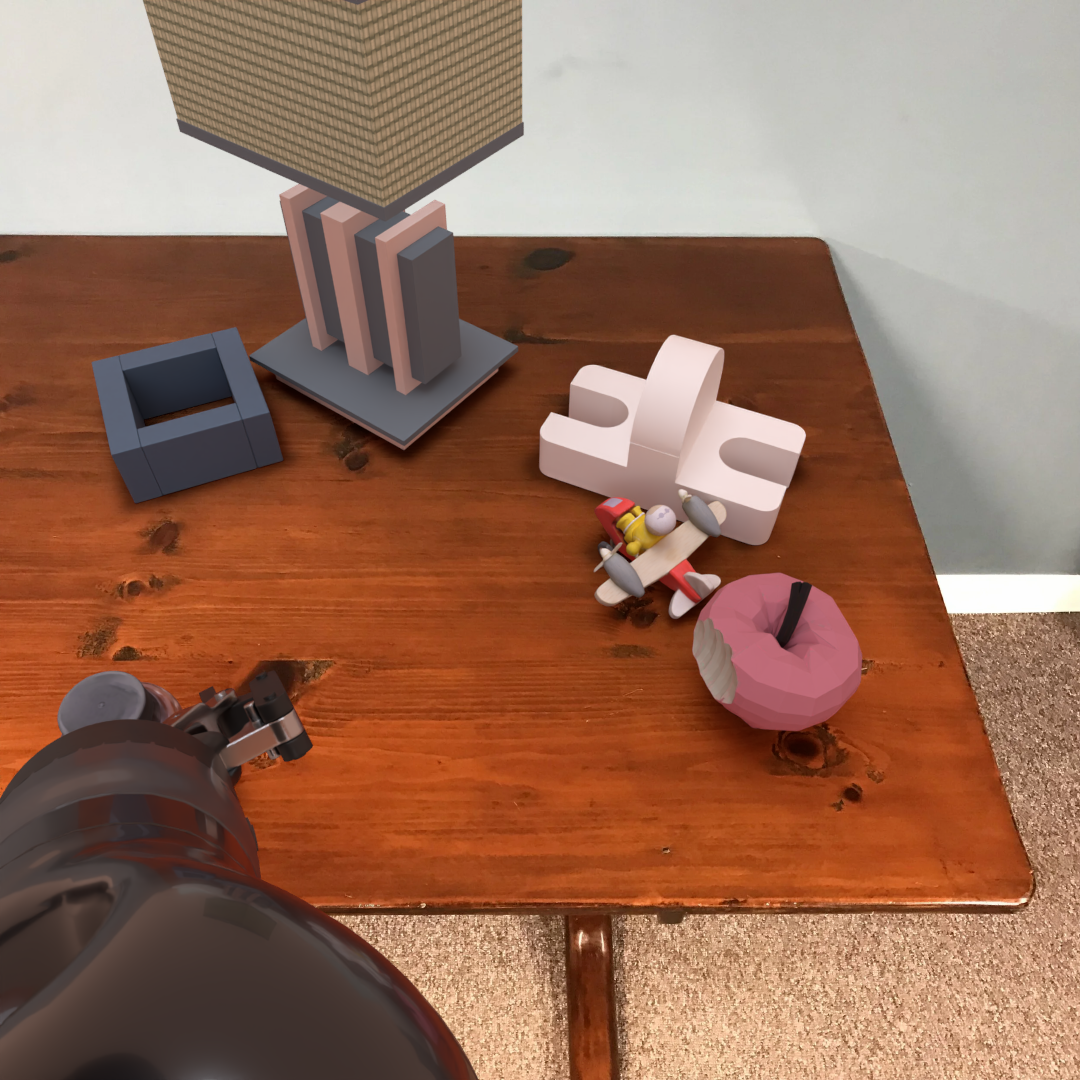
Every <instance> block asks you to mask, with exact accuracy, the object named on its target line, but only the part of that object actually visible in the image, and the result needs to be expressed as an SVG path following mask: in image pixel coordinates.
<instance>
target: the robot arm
mask: <svg viewBox="0 0 1080 1080" xmlns="http://www.w3.org/2000/svg"><path fill="white" fill-rule="evenodd" d="M248 686H249V689H250V692H248V693H245V694H241V695H238V693H237V692H236V689H235V688H233V687H230V688H229V687H228V688H225V689H222V690H219V691H218V692H217V691H216V689H215V688H214V686H213V685H211V686H209V687H207V688H206V689H204V690H201V691H199V692H198V695H199V697H200V700H201V702H198V703H196V704H193V705H191V706H187V707H185V708H183V709H182V710H179V711H177V712H175V713H173V714H172V715H171V716H170V717H168V718H167V719H166V720H164V721H163V722H162V723H159V722H154V721H148V720H139V719H121V720H111V721H105V722H100V723H95V724H92V725H88V726H85V727H82V728H80V729H77V730H74V731H72V732H70V733H68V734H66V735H64V736H62V737H61V736H60V737H58V738H56V739H54V740H53V741H52V742H50V743H49V744H47V745H45V746H44V747H43V748H41V749H40V750H39V751H37V752H36V753H35V754H34V755H33V756H31V757H30V759H28V760H27V761H26V762H25V763H24V764H23V765H22V766H21V767H20V769H19V770H18V771H17V772H16V773H15V774H14V776H13V777H12V778H11V780H10V781H9V782H8V784H7V785H6V787H5V789H4V790H3V792H2V794H1V796H0V1080H480V1079H479V1077H478V1074H477V1073H476V1071H475V1069H474V1067H473V1065H472V1063H471V1060H470V1059H469V1057H468V1055H467V1054H466V1051H465V1050H464V1048H463V1046H462V1044H461V1042H460V1041H459V1040H458V1039H457V1037H456V1036H455V1034H454V1033H453V1031H452V1030H451V1029H450V1027H449V1026H448V1024H447V1023H446V1021H445V1020H444V1019H443V1017H442V1016H441V1014H440V1013H439V1012H438V1011H437V1009H436V1008H435V1007H434V1006H433V1004H431V1003H430V1001H429V1000H428V999H427V998H426V997H425V996H424V994H422V993H421V991H420V990H419V988H417V987H416V985H415V984H414V983H413V982H412V981H411V980H410V979H409V978H408V977H407V976H406V975H405V974H404V973H403V972H402V971H401V970H400V969H399V968H398V967H397V966H396V965H394V963H392V962H391V961H390V959H388V958H387V957H386V956H385V955H384V954H382V952H380V951H379V950H378V949H376V947H374V946H373V945H372V944H371V943H369V941H367V940H365V938H363V937H362V936H361V935H359V934H358V933H357V932H355V931H354V930H352V929H351V928H350V927H348V926H347V925H345V924H344V923H342V922H340V921H339V920H337V919H335V917H332V916H330V915H329V914H327V913H326V912H324V911H322V910H321V909H319V908H318V907H316V906H315V905H312V904H311V903H309V902H308V901H306V900H304V899H302V898H300V897H298V896H297V895H295V894H293V893H292V892H289V891H288V890H285V889H283V888H281V887H279V886H277V885H275V884H272V883H270V882H268V881H266V880H264V879H262V873H261V864H260V858H259V854H258V852H259V851H260V850H259V843H258V839H257V834H256V831H255V827H254V824H252V823H251V821H250V819H249V817H248V816H246V815H245V813H244V810H243V806H242V805H241V802H240V800H239V797H238V795H237V792H236V790H235V786H236V785H237V784H238V783H239V781H240V779H241V776H242V772H243V768H242V767H243V766H242V765H244V764H246V763H247V762H249V761H252V760H254V759H255V758H257V757H259V756H261V755H263V754H264V753H266V754H267V756H268V758H269V760H271V761H274V760H276V759H278V758H280V757H281V758H282V760H283V762H286V763H288V762H291V761H297V760H300V759H302V758H303V757H305V756H306V755H307V753H309V751H311V750H312V749H313V747H314V744H313V742H312V740H311V738H310V736H309V734H308V731H307V730H306V729H305V726H304V724H303V721H301V718H300V716H299V714H298V712H297V709H295V706H294V704H293V703H292V701H291V698H290V697H289V695H288V693H287V691H286V689H285V686H284V685H283V683H282V681H281V679H280V677H279V674H278V673H277V671H276V670H271V671H262V672H260V673H258V674H257V675H255V676H254V678H253V679H252V680H250V681H249V683H248Z"/></svg>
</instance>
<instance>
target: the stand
mask: <svg viewBox="0 0 1080 1080" xmlns="http://www.w3.org/2000/svg"><path fill="white" fill-rule="evenodd" d="M91 366H92V371H93V376H94V377H93V378H94V381H95V385H96V391H97V394H98V399H99V405H100V409H101V414H102V418H103V422H104V429H105V433H106V437H107V443H108V446H109V451H110V457H112V460H113V462H114V463H115V466H116V468H117V470H118V472H119V474H120V476H121V478H122V480H123V482H124V484H125V486H126V488H127V490H128V492H129V494H130V496H131V499H132V500H133V502H134V504H139V503H142V502H145V501H149V500H153V499H156V498H159V497H160V498H161V497H163V496H166V495H169V494H173V493H176V492H179V491H184V490H187V489H190V488H193V487H197V486H201V485H204V484H207V483H210V482H214V481H217V480H221V479H224V478H227V477H231V476H235V475H239V474H242V473H245V472H249V471H252V470H256V469H258V468H263V467H266V466H269V465H273V464H276V463H280V462H283V461H284V456H283V452H282V449H281V446H280V443H279V439H278V436H277V432H276V429H275V426H274V422H273V418H272V416H271V412H270V408H269V406H268V403H267V402H266V399H265V396H264V393H263V390H262V388H261V386H260V384H259V380H258V377H257V376H256V372H255V371H254V368H253V365H252V363H251V361H250V358H249V355H248V353H247V349H246V347H245V344H244V343H243V339H242V336H241V335H240V332H239V330H238V328H237V326H234V327H230V328H225V329H221V330H218V331H214V332H209V333H204V334H201V335H196V336H192V337H188V338H183V339H180V340H176V341H172V342H168V343H163V344H160V345H159V344H158V345H155V346H151V347H148V348H142V349H139V350H135V351H131V352H126V353H123V354H119V355H114V356H110V357H106V358H102V359H98V360H94V361H91ZM231 397H232V400H233V403H230V404H226V405H222V406H219V407H215V408H211V409H207V410H203V411H199V412H196V413H192V414H189V415H185V416H182V417H177V418H173V419H170V420H165V421H162V422H159V423H158V422H157V423H155V424H151V425H148V426H146V424H145V420H148V419H151V418H156V417H159V416H163V415H168V414H171V413H174V412H178V411H182V410H186V409H189V408H190V409H191V408H193V407H197V406H201V405H205V404H208V403H212V402H217V401H220V400H223V399H227V398H231Z"/></svg>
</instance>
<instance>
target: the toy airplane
mask: <svg viewBox="0 0 1080 1080" xmlns="http://www.w3.org/2000/svg"><path fill="white" fill-rule="evenodd" d="M678 495H679V497H680V498H681V499H682V501H681V502H682V508H683V510H684V512H685V514H686V515H687V516H688V518H689V519H688V520H687V521H686V522H682V523H681V524H680V525H679V526H678V527H676V525H677V520H676V516H675V514H674V512H673V511H672V510H671V509H670V508H669V507H667V506H665V505H656V506H653V507H651V508H650V509H649V510H646V513H645V512H644V511H642V508H641V507H640V506H635V503H634V502H633V501H631V500H629V499H626V498H621V497H612V498H611V497H608V498H607V499H606V500H604V501H602V502H601V503H600V504H599V505H598V506H596V507H595V508H594V510H593V513H594V515H595V516H596V518H597V520H598V521H599V522H600V524H601V526H602V527H603V528H604V530H605V532H606V533H607V535H608V536H609V538H610V540H609V543H608V542H607V541H601V542H600V543H598V544H597V551H598V554H599V556H600V557H601V558H602V560H601V561H600V562H599V563H598V565H596V567H595V568H594V569H593V573H596V572H597V571H598V570H599V569H601V568H604V570H605V572H606V573H607V575H608V576H609V578H608V579H607V580H605V582H603V583H602V584H601V585H599V587H598V588H597V589H596V590H595V592H594V598H595V600H596V601H597V602H598V603H599V604H601V605H603V606H605V607H614V606H616V605H618V604H620V603H622V602H623V601H625V600H627V599H629V598H630V597H632V596H633V597H635V598H642V597H644V595H645V593H646V592H645V589H646V588H648V587H649V586H651V585H652V584H654V583H656V582H658V581H659V582H660V583H662V584H663V585H664V586H666V587H667V588H669V589H670V590H672V591H674V593H673V595H672V597H671V599H670V602H669V604H668V605H669V606H668V615H669V616H670V618H671V619H673V620H677V619H679V618H681V617H682V616H684V615H685V614H686V613H687V612H688V611H690V610H692V608H694V607H695V606H696V605H698V604H699V603H700V602H702V601H703V600H704V599H706V598H707V597H708V596H709V595H710V594H712V593H713V592H714V590H715V589H717V588H718V587H719V586H720V585H721V583H722V581H721V577H720V576H718V575H717V574H713V573H712V574H711V573H707V574H706V573H705V574H701V573H699V572H696V570H695V569H694V568H693V566H692V565H691V563H690V561H688V558H689V557H690V556H691V555H692V554H694V553H695V551H696V550H697V549H698V548H699V547H700V546H702V544H703V543H704V542H705V541H706V540H707V539H708V538H709V537H710V536H711V537H713V538H718V537H719V536H720V534H721V529H720V525H721V524H722V523H723V522H724V521H725V519H726V515H727V513H726V509H725V507H724V506H723V505H722V504H721V503H720V502H719V501H715V502H712V503H710V504H709V505H707V504H706V503H705V502H704V501H703V500H701V499H700V498H699V497H698V496H696V495H694V496H692V495H688V494H687V491H685V490H683V489H680V490H679V491H678ZM675 527H676V528H675ZM617 552H619V553H621V554H622V555H624V557H623V556H622V555H620V554H619V553H617ZM625 557H626V558H627V559H629V560H630V561H631V562H629V561H627V559H626V558H625Z"/></svg>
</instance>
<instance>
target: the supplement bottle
mask: <svg viewBox="0 0 1080 1080" xmlns="http://www.w3.org/2000/svg"><path fill="white" fill-rule="evenodd" d="M182 709H184V708H183V706H182V705H181V703H180V701H179V700H178V699H177V698H176V697H175V696H174V695H173V693H171V692H170V691H168V690H167V689H165V688H164V687H163V686H160V685H157V684H156V683H153V682H146V681H141V680H140V679H138V678H137V677H136V676H135V675H134V674H132V673H129V672H125V671H121V670H106V671H105V670H104V671H102V672H98V673H94V674H91V675H89V676H87V677H85V678H84V679H82V680H80V681H79V682H78V683H76V684H75V685H74V686H73V687H72V688H70V690H69V691H68V692H67V693H66V694H65V695H64V696H63V698H62V701H61V702H60V704H59V708H58V711H57V717H56V719H57V726H58V729H59V732H60V733H61V735H60V737H62V736H64V735H66V734H68V733H70V732H72V731H74V730H77V729H80V728H82V727H85V726H88V725H92V724H95V723H100V722H105V721H111V720H121V719H139V720H148V721H154V722H159V723H162V722H163V721H164V720H166V719H167V718H168V717H170V716H171V715H172V714H173V713H175V712H177V711H179V710H182Z"/></svg>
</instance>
